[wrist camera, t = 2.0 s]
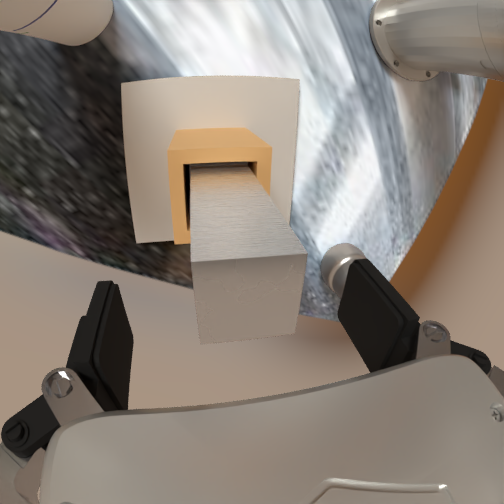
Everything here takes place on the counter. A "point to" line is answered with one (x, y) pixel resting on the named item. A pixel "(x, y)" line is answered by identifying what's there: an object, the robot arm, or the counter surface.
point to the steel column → (241, 257)
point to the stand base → (204, 142)
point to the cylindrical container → (56, 19)
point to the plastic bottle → (339, 265)
